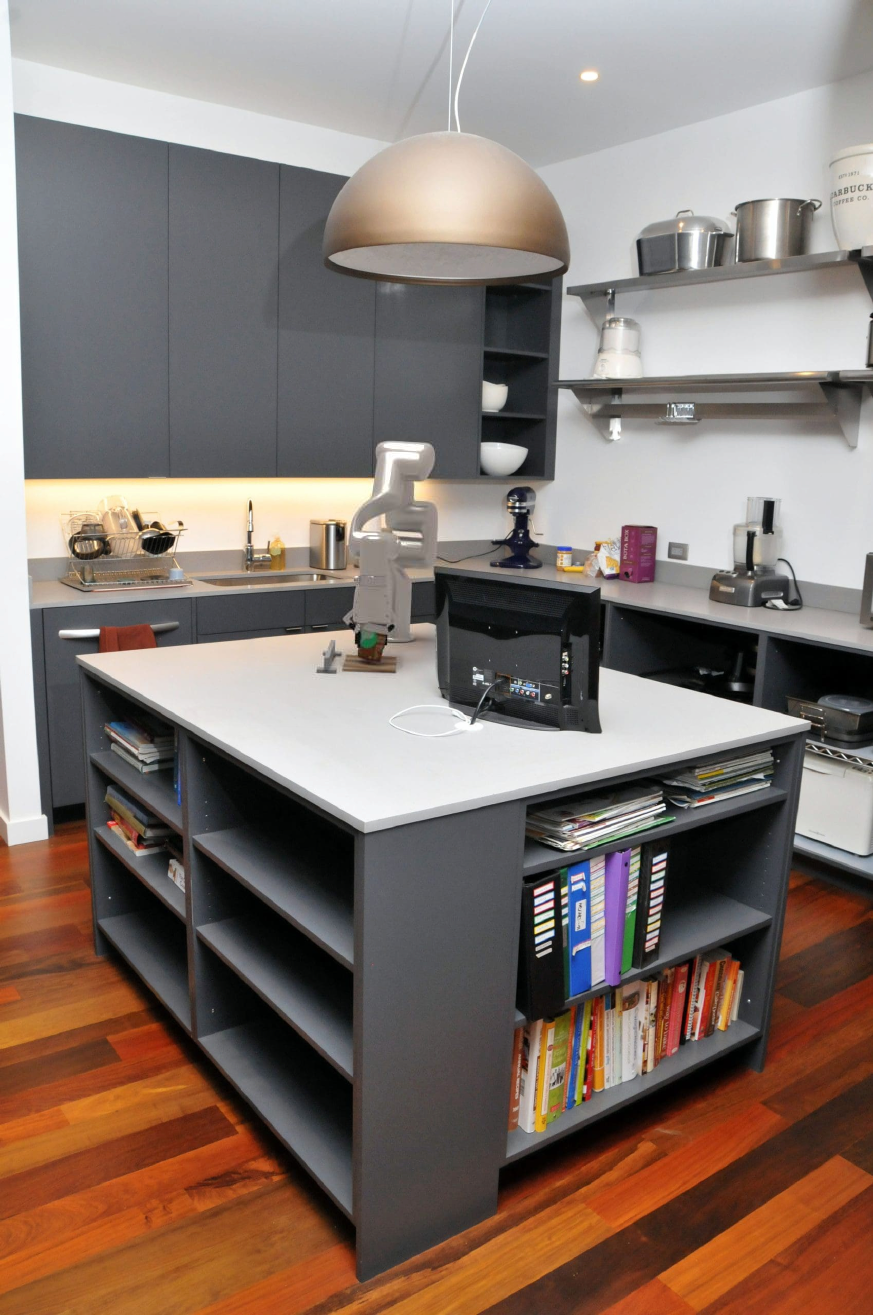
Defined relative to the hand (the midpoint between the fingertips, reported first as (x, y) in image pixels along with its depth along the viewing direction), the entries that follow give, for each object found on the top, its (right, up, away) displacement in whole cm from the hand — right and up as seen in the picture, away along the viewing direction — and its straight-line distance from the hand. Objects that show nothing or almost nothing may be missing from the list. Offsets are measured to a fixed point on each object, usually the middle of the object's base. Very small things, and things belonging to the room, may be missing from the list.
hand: (370, 646), depth 271 cm
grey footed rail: (-11, -4, 0) cm, 12 cm away
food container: (-2, -3, 0) cm, 4 cm away
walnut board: (0, -5, +1) cm, 5 cm away
